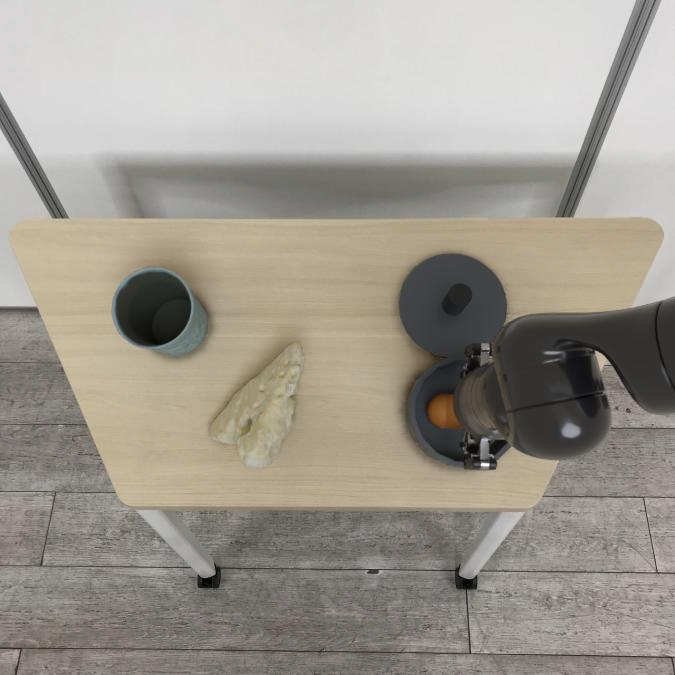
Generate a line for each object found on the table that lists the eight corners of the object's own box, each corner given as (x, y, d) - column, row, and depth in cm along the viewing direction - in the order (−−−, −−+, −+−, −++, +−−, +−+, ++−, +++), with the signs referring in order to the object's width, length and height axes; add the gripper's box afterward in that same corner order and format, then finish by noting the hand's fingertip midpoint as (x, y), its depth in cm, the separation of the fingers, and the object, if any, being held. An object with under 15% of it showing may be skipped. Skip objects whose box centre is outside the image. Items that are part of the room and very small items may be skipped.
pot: (509, 363, 84) (521, 357, 78) (510, 468, 81) (522, 469, 75) (407, 359, 84) (411, 353, 78) (405, 463, 82) (409, 464, 76)
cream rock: (240, 482, 84) (321, 472, 75) (198, 467, 79) (278, 454, 70) (259, 380, 91) (335, 359, 82) (221, 361, 86) (297, 336, 77)
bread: (492, 397, 83) (499, 394, 78) (492, 430, 82) (500, 429, 77) (425, 395, 83) (429, 392, 78) (424, 428, 82) (428, 427, 78)
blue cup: (163, 280, 87) (134, 254, 75) (227, 307, 86) (207, 286, 74) (131, 344, 86) (96, 328, 74) (196, 373, 85) (170, 361, 73)
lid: (505, 257, 86) (518, 241, 79) (505, 361, 84) (519, 353, 77) (400, 254, 87) (404, 237, 80) (397, 357, 84) (401, 349, 77)
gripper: (537, 476, 59) (498, 469, 75) (535, 331, 61) (498, 354, 77) (458, 473, 59) (436, 467, 75) (460, 328, 62) (438, 352, 78)
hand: (467, 410), depth 76 cm, fingers open, 8 cm apart
